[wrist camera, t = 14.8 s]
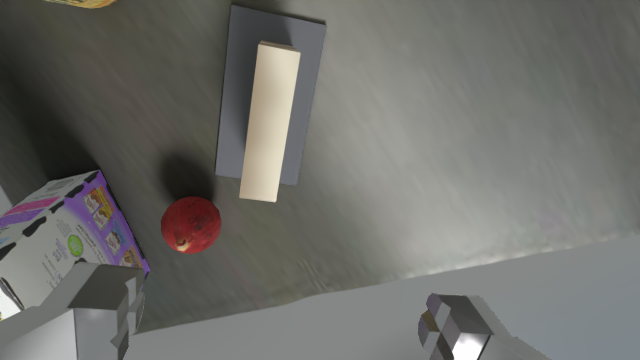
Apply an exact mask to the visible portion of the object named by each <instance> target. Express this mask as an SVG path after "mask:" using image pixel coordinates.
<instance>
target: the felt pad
mask: <svg viewBox="0 0 640 360" xmlns="http://www.w3.org/2000/svg"><path fill="white" fill-rule="evenodd" d="M325 32H326V25H322V24H317V23H313V22H308V21H304V20H299V19H295V18H290V17H286V16H281V15H277V14H272V13H268V12H263V11H259V10H254V9H249V8H245V7H240V6H236V5H231V13H230V23H229V34H228V44H227V55H226V66H225V76H224V87H223V97H222V108H221V118H220V129H219V139H218V150H217V160H216V171H215V175H219V176H227V177H235V178H242V172H243V164H244V156H245V148H246V140H247V132H248V124H249V116H250V108H251V100H252V92H253V84H254V76H255V68H256V60H257V52H258V44H259V43H260V42H261V41H262V40H263V41H268V42H273V43H278V44H283V45H288V46H292V47H294V48H295V49H296V50H298V51H299V52H300V53H301V54H300V60H299V66H298V72H297V78H296V84H295V90H294V96H293V102H292V108H291V114H290V120H289V126H288V132H287V138H286V144H285V150H284V156H283V162H282V168H281V174H280V179H279V183H281V184H289V185H296V186H297V181H298V176H299V170H300V165H301V160H302V154H303V149H304V144H305V138H306V133H307V128H308V122H309V117H310V112H311V106H312V101H313V96H314V90H315V85H316V80H317V74H318V69H319V64H320V58H321V53H322V48H323V42H324V37H325Z"/></svg>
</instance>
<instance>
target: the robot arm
mask: <svg viewBox="0 0 640 360" xmlns="http://www.w3.org/2000/svg"><path fill="white" fill-rule="evenodd" d="M144 281H145V277H144V269H143V268H138V267H129V266H119V265H110V264H99V263H88V262H79V263H77V264H75V265H74V266H73V267H72V269H71V270H70V271H69V272H68V273H67V274H66V276H65V277H64V278H63V279H62V280H61V281H60V283H59V284H58V285H57V286H56V287H55V288H54V290H53V291H52V292H51V293H50V294H49V295H48V297H47V298H46V299H45V300H44V301H43V303H42V304H41V305H40V306H31V307H29V308H27V309H25V310H23V311H20V312H18V313H16V314H14V315H12V316H10V317H8V318H6V319H3V320H1V321H0V360H123V358H124V356H125V354H126V352H127V349H128V347H129V336H131V335H132V334H134V333H135V332H136V330H137V327H138V325H139V323H140V319H141V316H142V312H143V306H144V294H143V293H142V291H141V290H140V289H141V287H142V285H143V283H144ZM426 305H427V307H428V310H427V311H426V312H425V313H423V314H422V315H421V318H420V321H419V324H418V334H419V339H420V342H421V344H422V347H423V348H424V349H425V350H426V351H427V352H429V353H430V354H431V357H430V360H551V359H549V358H548V357H546V356H545V355H543V354H542V353H540V352H539V351H537V350H536V349H534V348H533V347H531V346H530V345H528V344H527V343H525V342H524V341H522V340H520V339H519V338H518V337H512V336H511V335H510V333H509V332H508V331H507V329H506V328H505V327H504V325H503V324H502V323H501V322H500V320H499V319H498V318H497V317H496V315H495V314H494V313H493V311H492V310H491V309H490V307H489V306H488V305H487V304H486V302H485V301H484V300H483V299H482V298H481V297H479V296H472V295H451V294H437V293H432V294H431V295H430V296H429V297H428V300H427V302H426Z"/></svg>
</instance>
